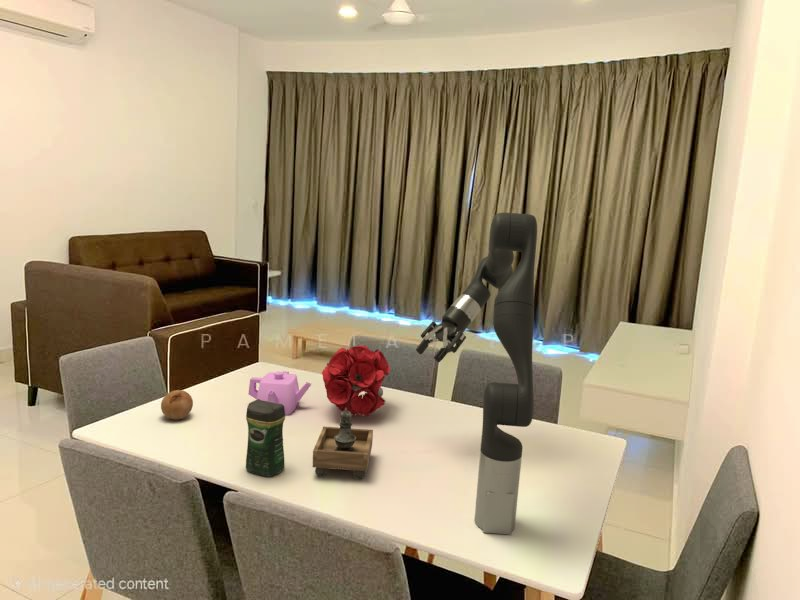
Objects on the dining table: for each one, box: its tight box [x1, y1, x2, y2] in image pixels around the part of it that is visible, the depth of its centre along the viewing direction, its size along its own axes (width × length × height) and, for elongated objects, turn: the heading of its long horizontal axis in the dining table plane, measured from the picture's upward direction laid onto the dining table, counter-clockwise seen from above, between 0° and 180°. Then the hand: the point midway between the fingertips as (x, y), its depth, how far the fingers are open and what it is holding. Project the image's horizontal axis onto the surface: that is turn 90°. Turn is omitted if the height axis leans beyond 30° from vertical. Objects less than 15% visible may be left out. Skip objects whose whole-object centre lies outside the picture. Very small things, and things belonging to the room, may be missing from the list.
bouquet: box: [321, 344, 391, 417], centre depth 198 cm, size 22×24×30 cm
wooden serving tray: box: [312, 426, 374, 480], centre depth 157 cm, size 16×14×8 cm
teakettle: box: [248, 370, 312, 416], centre depth 196 cm, size 17×17×12 cm
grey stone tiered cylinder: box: [334, 408, 356, 452], centre depth 156 cm, size 6×6×12 cm
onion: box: [160, 389, 194, 421], centre depth 183 cm, size 10×9×10 cm
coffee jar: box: [245, 399, 286, 477], centre depth 152 cm, size 10×8×19 cm
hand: (427, 356), depth 164 cm, fingers open, 8 cm apart
